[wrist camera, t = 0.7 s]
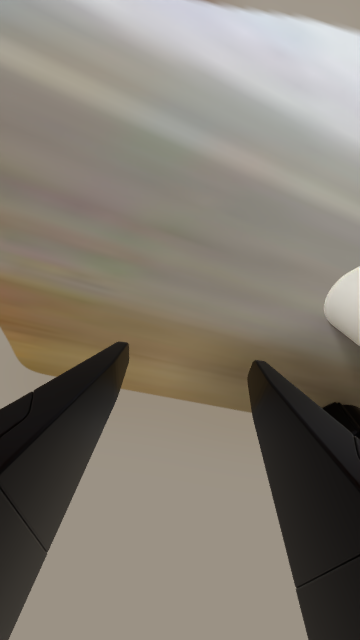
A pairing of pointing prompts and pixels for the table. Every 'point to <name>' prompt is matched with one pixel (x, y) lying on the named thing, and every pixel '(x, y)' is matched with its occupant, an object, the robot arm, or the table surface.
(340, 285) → the cylindrical container
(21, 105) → the table surface
